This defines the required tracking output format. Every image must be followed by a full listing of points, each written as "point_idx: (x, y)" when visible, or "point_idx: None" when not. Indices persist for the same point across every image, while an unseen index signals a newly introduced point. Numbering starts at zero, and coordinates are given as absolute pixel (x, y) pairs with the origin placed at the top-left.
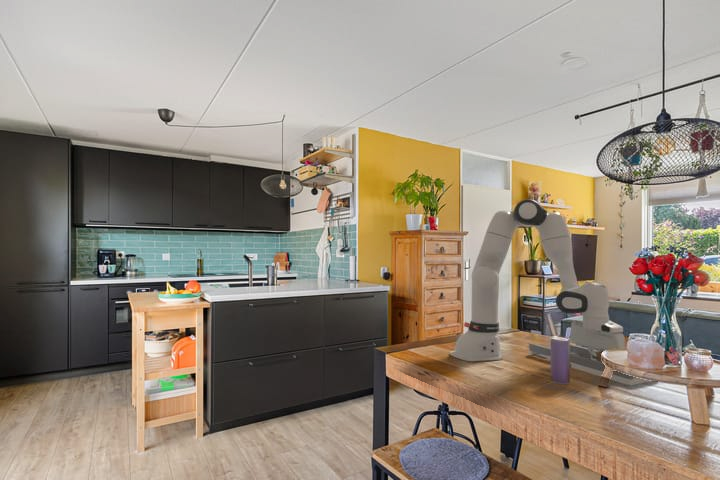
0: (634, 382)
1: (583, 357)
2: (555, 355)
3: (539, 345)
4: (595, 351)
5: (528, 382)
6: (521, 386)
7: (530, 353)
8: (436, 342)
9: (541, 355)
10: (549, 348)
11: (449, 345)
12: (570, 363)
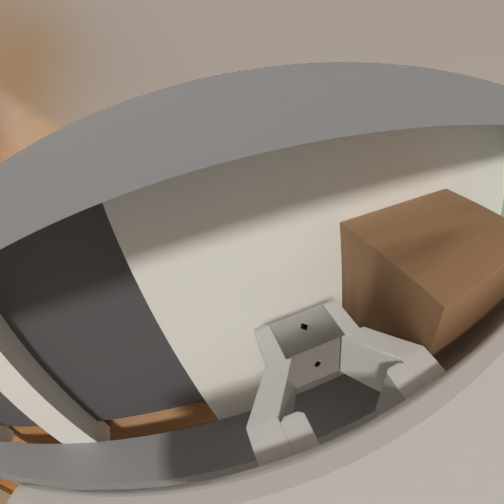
0: None
1: (320, 441)
2: None
3: (23, 478)
4: (63, 218)
5: None
6: None
7: (10, 438)
8: (2, 487)
9: (8, 416)
10: (80, 487)
11: (14, 488)
12: (150, 391)
